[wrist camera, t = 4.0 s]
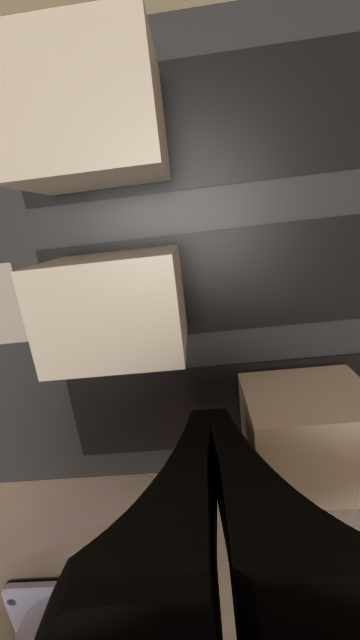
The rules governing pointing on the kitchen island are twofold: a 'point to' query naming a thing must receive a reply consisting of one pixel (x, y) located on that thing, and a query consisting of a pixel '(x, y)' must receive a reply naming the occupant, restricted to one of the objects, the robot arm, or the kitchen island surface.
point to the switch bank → (207, 235)
